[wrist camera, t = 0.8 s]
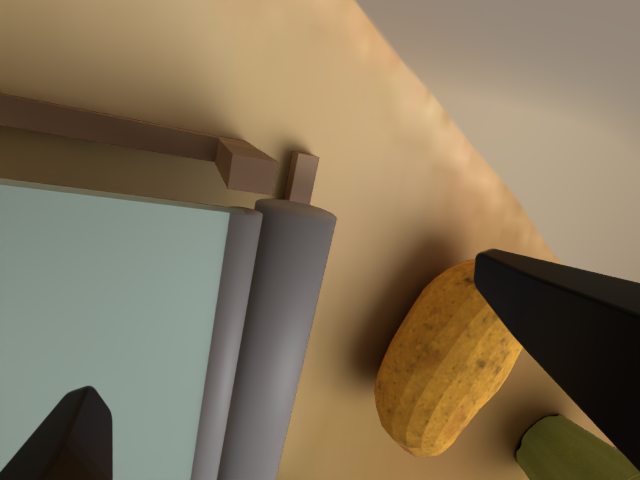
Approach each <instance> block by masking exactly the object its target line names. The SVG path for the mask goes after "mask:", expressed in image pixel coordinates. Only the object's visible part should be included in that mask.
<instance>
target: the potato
mask: <svg viewBox="0 0 640 480" xmlns="http://www.w3.org/2000/svg"><path fill="white" fill-rule="evenodd" d="M474 267H475V259H474V260H467V261H465V262H463V263H460V264H458V265H456V266H454V267H451V268H449V269H447V270H446V271H444V272H443V273H441V274H440V275H438V276H437V277H436V278H435V279H434V280H433V281H431V282H430V283H429V284H428V285H427V286H426V287H425V288H424V289H423V291H422V292H421V294H420V295H419V297H418V298H417V300H416V301H415V303H414V304H413V306H412V308H411V309H410V311H409V312H408V314H407V316H406V317H405V319H404V321H403V322H402V324H401V326H400V327H399V329H398V331H397V332H396V334H395V336H394V338H393V339H392V341H391V343H390V345H389V347H388V350H387V352H386V354H385V356H384V359H383V361H382V363H381V366H380V369H379V372H378V374H377V378H376V384H375V390H374V394H375V401H376V408H377V411H378V414H379V418H380V421H381V424H382V426H383V428H384V429H385V430H386V431H387V432H388V434H389V435H390V436H391V437H392V439H393V440H394V441H395V442H397V443H398V444H399V445H400V446H401V447H402V448H403V449H404V450H405V451H407V452H409V453H410V454H412V455H414V456H415V457H426V456H436V455H439V454H441V453H442V452H444V451H445V450H446V449H447V448H448V447H449V446H450V445H451V444H452V443H453V442H454V441H455V440H456V438H457V437H458V436H459V435H460V433H461V432H462V431H463V429H464V428H465V427H466V426H467V424H468V423H469V422H470V421H471V419H472V418H473V417H474V415H475V414H476V413H477V412H478V410H479V409H480V408H481V407H482V406H483V405H484V404H485V403H486V402H487V401H488V400H489V399H490V398H491V397H492V396H493V395H494V394H495V393H496V392H497V391H498V390H499V389H500V387H501V385H502V384H503V382H504V381H505V379H506V378H507V376H508V375H509V373H510V372H511V370H512V368H513V366H514V364H515V361H516V359H517V357H518V355H519V353H520V351H521V350H522V348H523V346H522V345H521V344H520V343H519V342H518V341H517V340H516V339H515V338H514V336H513V335H512V334H511V333H510V332H509V330H508V329H507V328H506V327H505V325H504V324H503V323H502V321H501V320H500V319H499V317H498V316H497V315H496V314H495V312H494V311H493V310H492V308H491V307H490V306H489V304H488V303H487V302H486V300H485V299H484V298H483V297H482V295H481V294H480V293H479V291H478V290H477V288H476V287H475V284H474V280H473V277H474Z"/></svg>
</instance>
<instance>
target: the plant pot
mask: <svg viewBox="0 0 640 480" xmlns="http://www.w3.org/2000/svg"><path fill="white" fill-rule="evenodd" d="M516 458H517V462H518V464H519V465H520V467H521V468H522V469H523V471H524V472H525V474H526V475H527V476H528V478H529V479H530V480H640V472H639V471H638V470H637V469H636V468H635V467H634V465H633V464H632V463H631V462H630V461H629V460H628V459H627V458H626V457H625V456H624V455H623V454H622V453H621V452H620V451H619V450H617V449H615V448H614V447H612V446H611V445H609V444H607V443H606V442H604V441H603V440H601V439H599V438H598V437H596V436H595V435H593V434H591V433H590V432H588V431H587V430H585V429H583V428H582V427H580V426H579V425H577V424H575V423H574V422H572V421H571V420H569V419H567V418H566V417H564V416H562V415H558V416H555V417H552V416H548V417H545V418H543V419H541V420H539V421H538V422H537V423H536V424H535V425H533V426H532V427H531V428H530V429H529V430H528V431H527V432H526V433H525V435H524V436H523V438H522V443H521V447H520V449H519V450H517V453H516Z"/></svg>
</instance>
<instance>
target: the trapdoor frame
mask: <svg viewBox="0 0 640 480" xmlns="http://www.w3.org/2000/svg"><path fill="white" fill-rule="evenodd" d="M0 125H1V126H7V127H13V128H19V129H25V130H31V131H36V132H42V133H48V134H54V135H60V136H66V137H72V138H77V139H83V140H89V141H95V142H101V143H107V144H112V145H118V146H124V147H130V148H136V149H142V150H148V151H153V152H159V153H165V154H171V155H177V156H183V157H188V158H194V159H200V160H206V161H212V162H215V163H216V165H217V167H218V170H219V172H220V174H221V176H222V178H223V180H224V182H225V184H226V186H227V188H228V189H233V190H240V191H247V192H254V193H261V194H268V195H273V190H274V184H275V179H276V173H277V168H278V162H277V161H276V160H274V159H273V158H271V157H269V156H268V155H266V154H265V153H263V152H262V151H260V150H259V149H257V148H256V147H254V146H253V145H251V144H250V143H248V142H245V141H240V140H235V139H230V138H225V137H220V136H215V135H210V134H205V133H200V132H195V131H190V130H185V129H180V128H174V127H169V126H164V125H159V124H154V123H149V122H144V121H139V120H134V119H129V118H124V117H119V116H114V115H109V114H103V113H98V112H93V111H88V110H83V109H78V108H73V107H68V106H63V105H58V104H53V103H48V102H43V101H38V100H32V99H27V98H22V97H17V96H12V95H7V94H2V93H0ZM318 161H319V157H317V156H314V155H311V154H306V153H301V152H296V151H293V152H292V158H291V163H290V168H289V174H288V179H287V184H286V190H285V195H284V200H288V201H294V202H299V203H304V204H308V205H309V204H310V200H311V195H312V190H313V185H314V180H315V176H316V171H317V166H318Z"/></svg>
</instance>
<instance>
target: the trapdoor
mask: <svg viewBox="0 0 640 480" xmlns="http://www.w3.org/2000/svg"><path fill="white" fill-rule="evenodd" d="M336 220H337V218H336V216H335V215H333V214H332V213H330V212H328V211H326V210H323V209H321V208H318V207H315V206H311V205H308V204H304V203H299V202H294V201H288V200H281V199H260V200H257V201H256V203H255V209H254V210H253V209H249V208H244V207H222V206H215V205H207V204H199V203H191V202H183V201H176V200H168V199H160V198H152V197H144V196H136V195H129V194H121V193H113V192H105V191H97V190H90V189H82V188H74V187H66V186H58V185H50V184H43V183H35V182H27V181H19V180H11V179H4V178H0V471H1V470H2V469H3V468H4V467H5V465H6V464H7V463H8V462H9V461H10V460H11V458H12V457H13V456H14V455H15V454H16V452H17V451H18V450H19V449H20V448H21V446H22V445H23V444H24V443H25V442H26V441H27V439H28V438H29V437H30V436H31V435H32V433H33V432H34V431H35V430H36V429H37V427H38V426H39V425H40V424H41V423H42V422H43V420H44V419H45V418H46V417H47V416H48V414H49V413H50V412H51V411H52V410H53V408H54V407H55V406H56V405H57V404H58V403H59V401H60V400H61V399H62V398H63V397H64V396H65V395H66V394H67V393H68V392H70V391H72V390H75V389H78V388H81V387H84V386H93V387H94V388H95V389H96V390H97V392H98V393H99V395H100V396H101V398H102V399H103V400H104V402H105V403H106V405H107V406H108V407H109V409H110V411H111V414H112V420H113V480H276V477H277V473H278V468H279V464H280V460H281V456H282V451H283V447H284V443H285V438H286V434H287V430H288V426H289V421H290V417H291V413H292V408H293V404H294V400H295V396H296V391H297V387H298V383H299V378H300V374H301V370H302V366H303V361H304V357H305V353H306V348H307V344H308V340H309V336H310V331H311V327H312V323H313V318H314V314H315V310H316V306H317V301H318V297H319V293H320V288H321V284H322V280H323V276H324V271H325V267H326V263H327V258H328V254H329V250H330V246H331V241H332V237H333V233H334V228H335V224H336Z"/></svg>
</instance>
